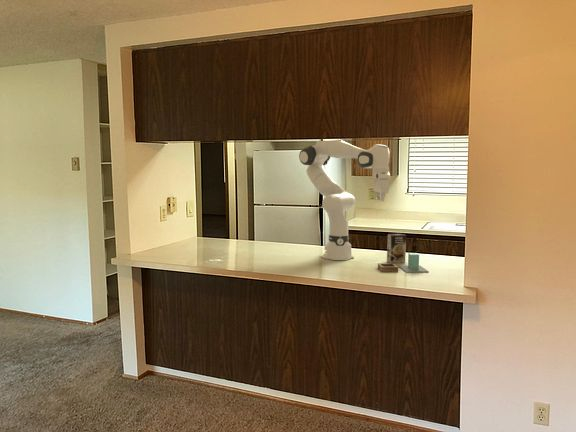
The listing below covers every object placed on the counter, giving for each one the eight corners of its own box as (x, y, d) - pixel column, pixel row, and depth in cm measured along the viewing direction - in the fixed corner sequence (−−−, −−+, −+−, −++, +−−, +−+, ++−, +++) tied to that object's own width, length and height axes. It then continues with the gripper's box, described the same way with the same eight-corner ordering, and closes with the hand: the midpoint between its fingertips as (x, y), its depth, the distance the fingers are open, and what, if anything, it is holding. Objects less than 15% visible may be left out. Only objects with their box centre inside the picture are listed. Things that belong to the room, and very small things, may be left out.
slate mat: (398, 266, 272) (398, 265, 272) (420, 266, 273) (420, 265, 272) (406, 272, 258) (406, 271, 258) (428, 272, 259) (428, 271, 259)
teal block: (407, 267, 267) (408, 253, 266) (416, 267, 268) (416, 253, 267) (410, 269, 263) (410, 254, 262) (418, 269, 263) (419, 254, 262)
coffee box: (390, 263, 281) (391, 235, 279) (386, 260, 287) (387, 233, 285) (405, 262, 283) (406, 235, 281) (401, 260, 289) (401, 233, 287)
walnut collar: (377, 268, 269) (377, 263, 268) (393, 267, 269) (393, 263, 269) (381, 271, 260) (381, 267, 260) (398, 271, 260) (398, 267, 260)
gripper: (370, 174, 273) (370, 198, 275) (379, 175, 253) (378, 202, 255) (381, 174, 274) (381, 198, 275) (391, 175, 253) (390, 202, 255)
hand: (380, 200), depth 265 cm, fingers open, 8 cm apart
